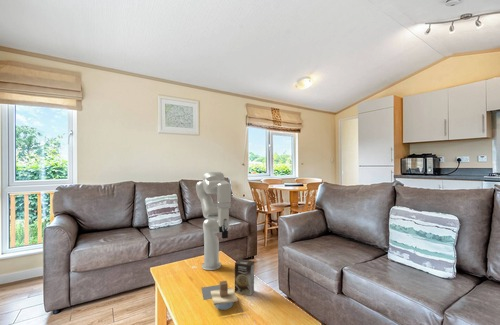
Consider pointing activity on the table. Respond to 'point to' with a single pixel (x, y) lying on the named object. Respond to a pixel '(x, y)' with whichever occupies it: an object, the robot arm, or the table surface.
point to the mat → (209, 291)
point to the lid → (223, 294)
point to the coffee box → (244, 277)
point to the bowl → (224, 306)
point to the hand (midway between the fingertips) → (223, 234)
